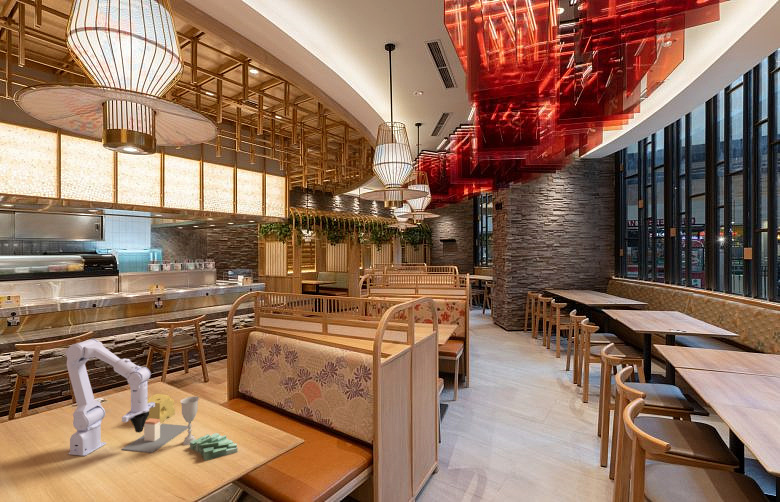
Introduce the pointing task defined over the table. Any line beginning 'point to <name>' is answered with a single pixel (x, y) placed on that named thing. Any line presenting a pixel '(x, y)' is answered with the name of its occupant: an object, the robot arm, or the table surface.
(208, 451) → the money
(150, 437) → the cream block
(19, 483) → the table surface
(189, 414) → the chalice
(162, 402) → the cheese
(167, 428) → the slate mat
